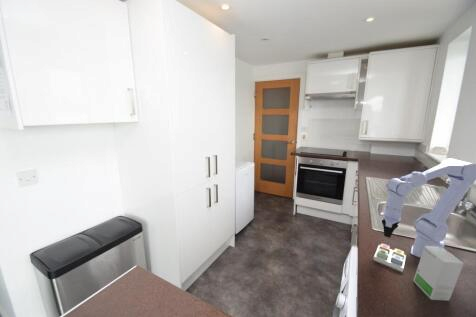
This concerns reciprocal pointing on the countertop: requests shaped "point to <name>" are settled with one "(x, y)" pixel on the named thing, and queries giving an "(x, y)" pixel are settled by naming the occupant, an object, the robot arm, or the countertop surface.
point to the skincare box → (437, 273)
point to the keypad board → (389, 260)
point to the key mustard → (398, 252)
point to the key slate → (397, 259)
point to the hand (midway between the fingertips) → (387, 235)
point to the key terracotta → (384, 247)
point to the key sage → (382, 254)
